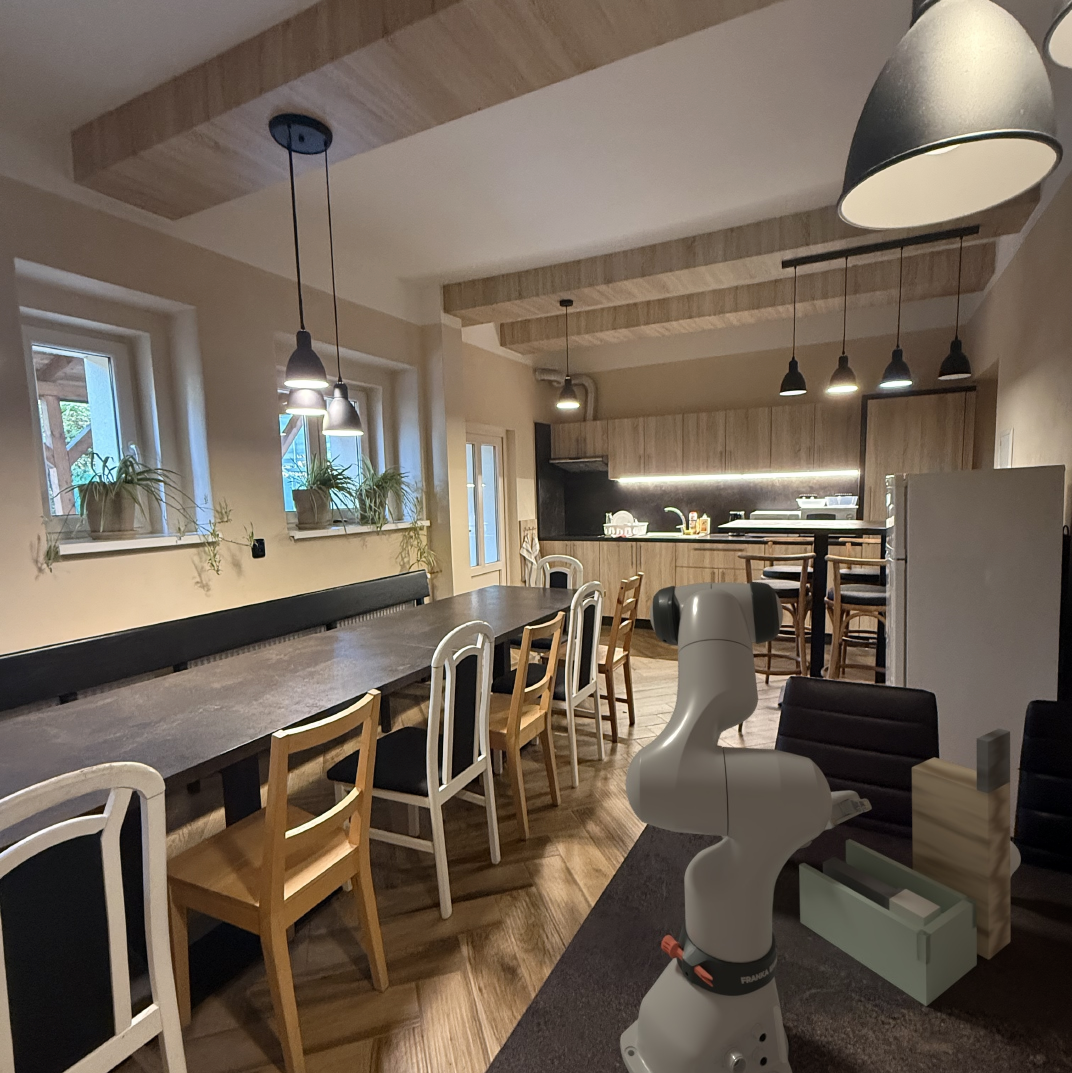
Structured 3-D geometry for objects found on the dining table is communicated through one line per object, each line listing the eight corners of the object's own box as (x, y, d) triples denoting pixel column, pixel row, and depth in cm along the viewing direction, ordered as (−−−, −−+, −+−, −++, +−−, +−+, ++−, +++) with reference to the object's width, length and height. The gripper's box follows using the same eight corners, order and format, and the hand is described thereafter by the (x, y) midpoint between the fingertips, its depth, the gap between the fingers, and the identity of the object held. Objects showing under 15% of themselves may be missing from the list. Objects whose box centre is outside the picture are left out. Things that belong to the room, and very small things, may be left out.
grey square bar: (923, 940, 87) (923, 917, 87) (820, 880, 102) (819, 860, 102) (940, 929, 89) (940, 906, 89) (836, 871, 104) (836, 852, 104)
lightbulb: (1028, 910, 101) (1028, 847, 100) (988, 906, 102) (987, 844, 102) (1008, 887, 107) (1008, 827, 106) (969, 884, 108) (969, 825, 108)
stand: (988, 959, 91) (987, 741, 89) (913, 917, 100) (911, 720, 99) (1010, 941, 94) (1010, 731, 92) (935, 902, 104) (934, 711, 102)
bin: (926, 1006, 83) (925, 937, 83) (800, 922, 100) (799, 864, 100) (976, 964, 90) (976, 900, 89) (850, 892, 107) (849, 838, 107)
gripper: (742, 820, 106) (801, 810, 95) (816, 789, 116) (876, 777, 105) (758, 858, 103) (820, 853, 92) (831, 823, 113) (895, 815, 103)
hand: (850, 812), depth 99 cm, fingers open, 8 cm apart
